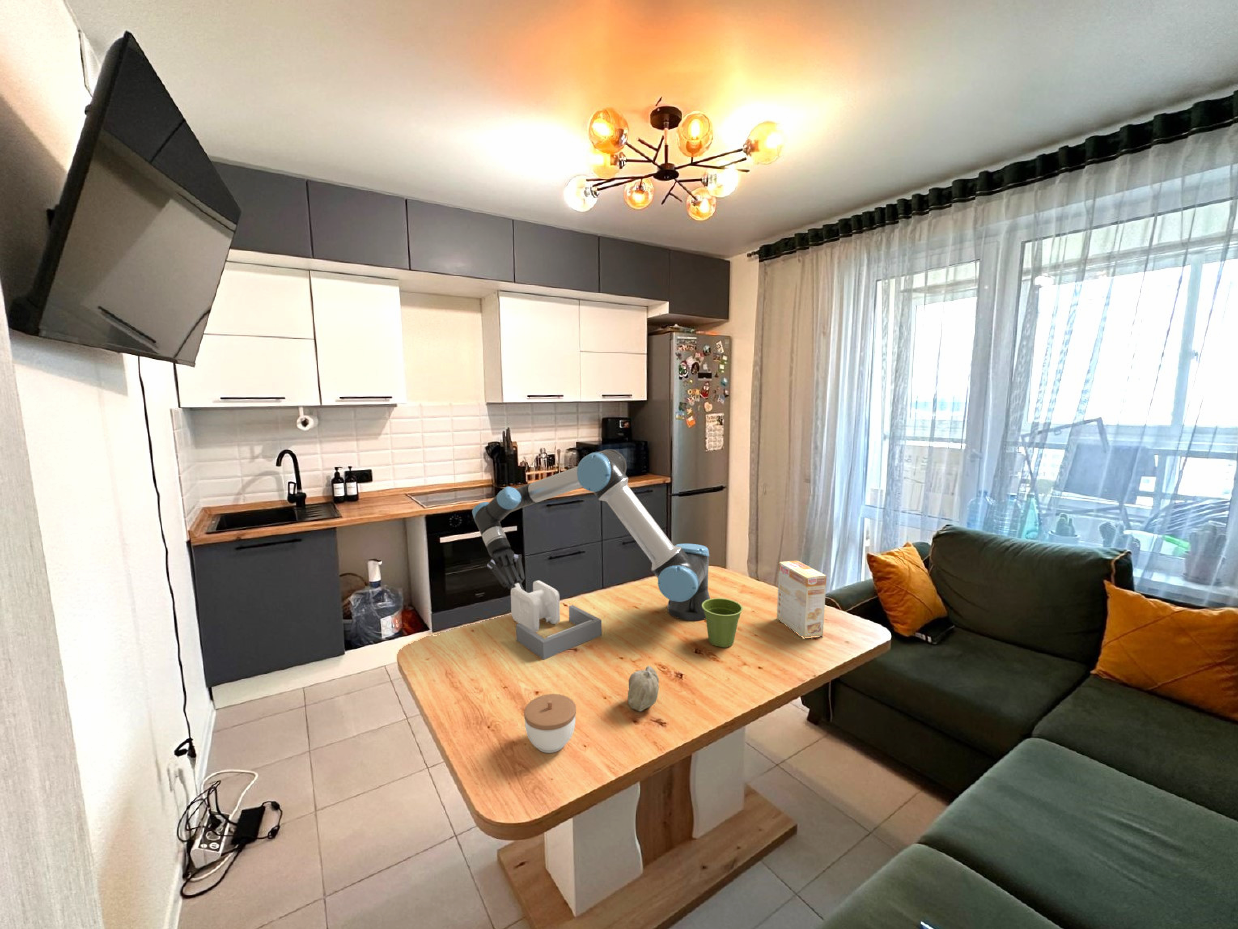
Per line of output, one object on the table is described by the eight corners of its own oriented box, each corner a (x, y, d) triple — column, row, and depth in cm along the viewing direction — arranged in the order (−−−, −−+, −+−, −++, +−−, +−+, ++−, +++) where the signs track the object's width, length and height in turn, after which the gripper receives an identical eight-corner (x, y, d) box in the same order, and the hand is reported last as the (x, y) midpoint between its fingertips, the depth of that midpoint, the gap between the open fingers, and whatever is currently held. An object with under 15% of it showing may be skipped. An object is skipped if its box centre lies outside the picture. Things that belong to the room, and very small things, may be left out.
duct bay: (601, 635, 151) (601, 619, 150) (543, 659, 137) (543, 642, 136) (572, 619, 161) (572, 605, 161) (516, 640, 147) (516, 624, 147)
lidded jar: (539, 722, 110) (538, 683, 109) (583, 731, 107) (583, 691, 106) (515, 755, 100) (514, 712, 99) (564, 766, 97) (563, 722, 96)
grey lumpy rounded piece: (645, 703, 121) (652, 661, 123) (666, 716, 114) (673, 671, 115) (613, 703, 116) (620, 659, 118) (633, 717, 109) (640, 670, 111)
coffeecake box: (823, 637, 149) (827, 575, 147) (803, 640, 148) (806, 577, 145) (794, 616, 164) (797, 559, 161) (775, 618, 162) (778, 561, 159)
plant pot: (693, 642, 146) (693, 606, 145) (715, 629, 155) (716, 594, 153) (727, 656, 138) (729, 618, 137) (749, 642, 147) (750, 605, 145)
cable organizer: (562, 626, 156) (561, 591, 155) (532, 637, 150) (531, 600, 148) (537, 611, 168) (537, 578, 166) (509, 620, 161) (508, 586, 159)
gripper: (509, 544, 179) (535, 602, 169) (476, 552, 170) (501, 613, 160) (516, 533, 175) (543, 592, 164) (482, 540, 166) (509, 602, 156)
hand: (522, 602), depth 162 cm, fingers closed
